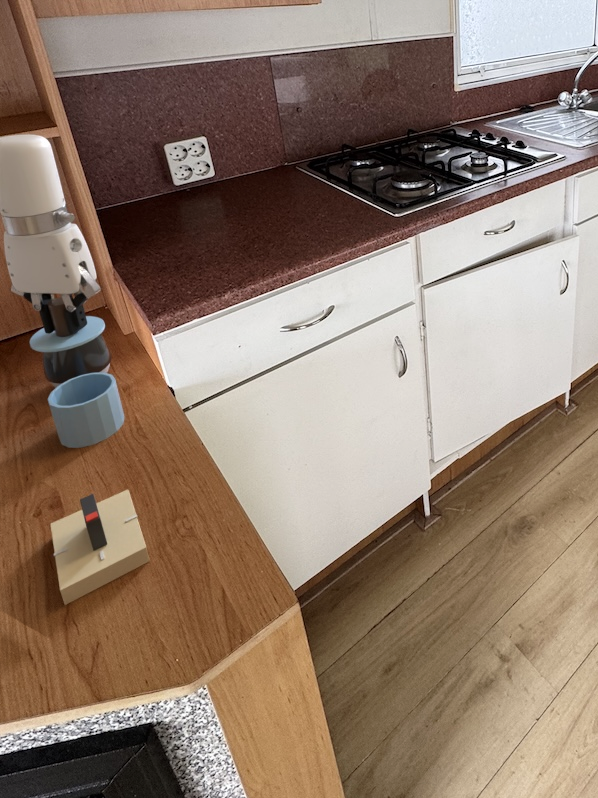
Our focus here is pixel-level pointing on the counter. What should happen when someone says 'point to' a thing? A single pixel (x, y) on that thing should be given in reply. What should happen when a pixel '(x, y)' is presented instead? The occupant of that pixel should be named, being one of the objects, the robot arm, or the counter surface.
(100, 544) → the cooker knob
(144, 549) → the beige switch box
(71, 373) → the glossy black egg dome
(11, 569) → the counter surface
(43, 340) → the pot lid
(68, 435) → the pot
